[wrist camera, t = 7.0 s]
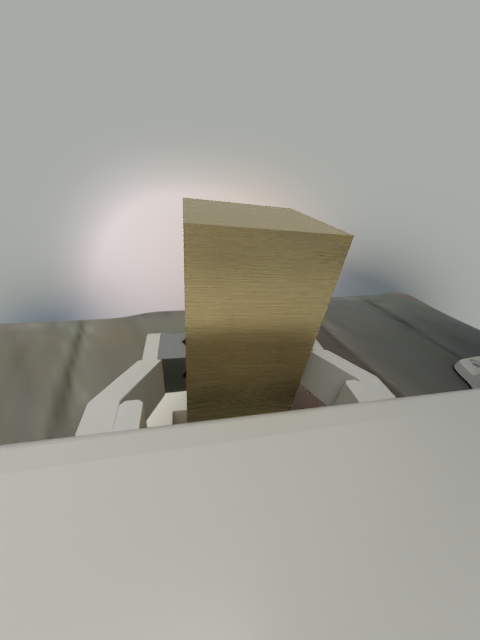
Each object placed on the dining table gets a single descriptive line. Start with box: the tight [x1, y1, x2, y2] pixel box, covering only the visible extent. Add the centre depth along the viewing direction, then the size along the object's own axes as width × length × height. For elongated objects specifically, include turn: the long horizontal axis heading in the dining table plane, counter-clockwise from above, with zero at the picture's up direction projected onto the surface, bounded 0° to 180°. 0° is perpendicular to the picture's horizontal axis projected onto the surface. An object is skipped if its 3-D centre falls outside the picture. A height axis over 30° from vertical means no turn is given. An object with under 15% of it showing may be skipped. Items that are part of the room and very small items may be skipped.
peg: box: [183, 198, 354, 423], centre depth 11 cm, size 4×4×14 cm
